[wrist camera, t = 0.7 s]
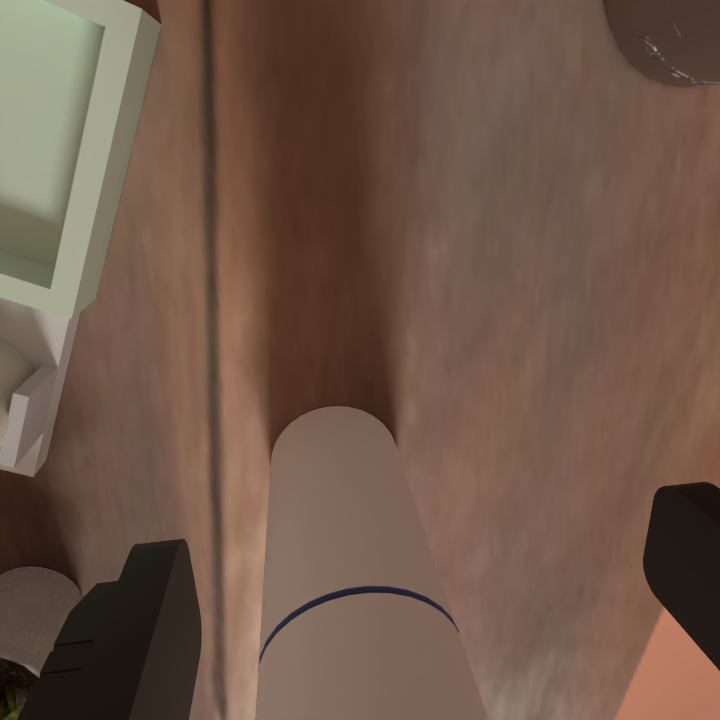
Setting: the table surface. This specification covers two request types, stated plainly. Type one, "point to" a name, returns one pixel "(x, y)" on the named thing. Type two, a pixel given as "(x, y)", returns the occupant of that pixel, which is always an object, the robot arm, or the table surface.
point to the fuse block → (30, 382)
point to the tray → (66, 141)
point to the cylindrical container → (353, 585)
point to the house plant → (29, 629)
